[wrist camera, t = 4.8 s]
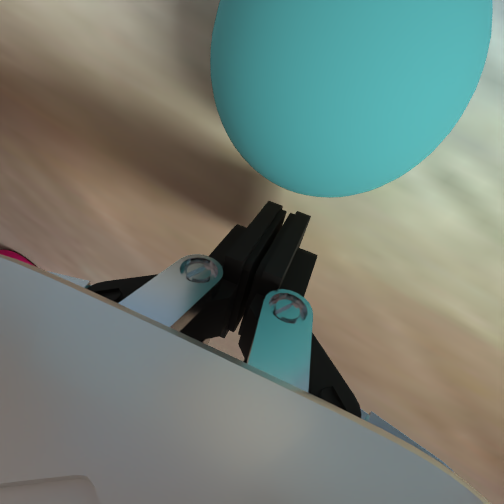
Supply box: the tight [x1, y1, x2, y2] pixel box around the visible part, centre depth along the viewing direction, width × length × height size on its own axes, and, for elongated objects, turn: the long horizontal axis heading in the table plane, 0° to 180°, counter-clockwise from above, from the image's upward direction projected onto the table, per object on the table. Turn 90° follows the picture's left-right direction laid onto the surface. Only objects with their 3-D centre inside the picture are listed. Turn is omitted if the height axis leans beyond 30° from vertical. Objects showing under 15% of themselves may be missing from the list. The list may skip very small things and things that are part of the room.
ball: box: [210, 0, 492, 197], centre depth 7 cm, size 6×6×6 cm
